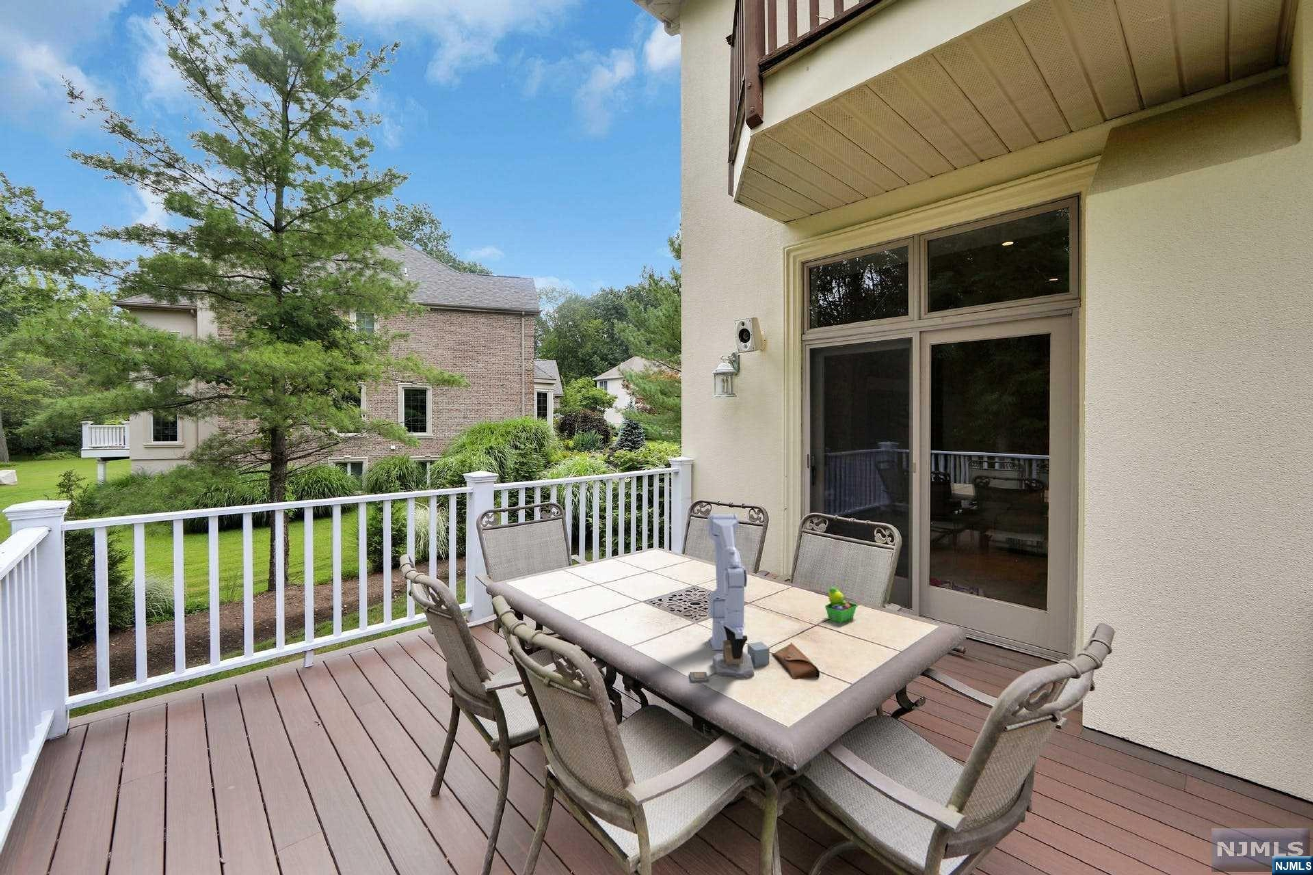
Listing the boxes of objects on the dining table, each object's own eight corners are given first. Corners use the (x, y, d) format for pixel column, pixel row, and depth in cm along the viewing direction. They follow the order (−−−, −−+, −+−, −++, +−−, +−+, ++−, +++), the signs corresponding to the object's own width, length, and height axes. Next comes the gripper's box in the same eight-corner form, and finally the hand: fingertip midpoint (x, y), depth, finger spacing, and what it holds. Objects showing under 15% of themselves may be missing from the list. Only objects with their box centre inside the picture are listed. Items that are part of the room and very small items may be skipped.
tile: (689, 673, 156) (689, 671, 156) (706, 673, 156) (706, 671, 156) (691, 682, 151) (691, 679, 151) (708, 681, 151) (708, 679, 151)
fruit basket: (841, 624, 194) (842, 594, 193) (821, 617, 200) (821, 588, 200) (858, 617, 201) (858, 588, 200) (837, 611, 208) (837, 583, 207)
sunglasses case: (768, 652, 170) (779, 634, 170) (786, 662, 171) (796, 644, 171) (793, 680, 152) (805, 659, 152) (812, 690, 153) (823, 670, 154)
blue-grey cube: (747, 659, 166) (747, 643, 165) (761, 657, 167) (761, 641, 167) (754, 666, 161) (755, 650, 161) (769, 663, 162) (769, 648, 162)
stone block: (756, 683, 154) (749, 661, 164) (757, 669, 153) (749, 648, 163) (717, 685, 154) (711, 663, 163) (717, 671, 152) (711, 650, 162)
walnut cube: (722, 656, 159) (723, 640, 159) (738, 656, 160) (739, 639, 160) (726, 664, 154) (726, 647, 154) (742, 663, 155) (743, 647, 155)
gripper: (717, 599, 163) (717, 642, 163) (725, 617, 149) (725, 664, 149) (739, 599, 163) (739, 642, 164) (750, 616, 149) (749, 663, 149)
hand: (734, 652), depth 156 cm, fingers open, 7 cm apart
